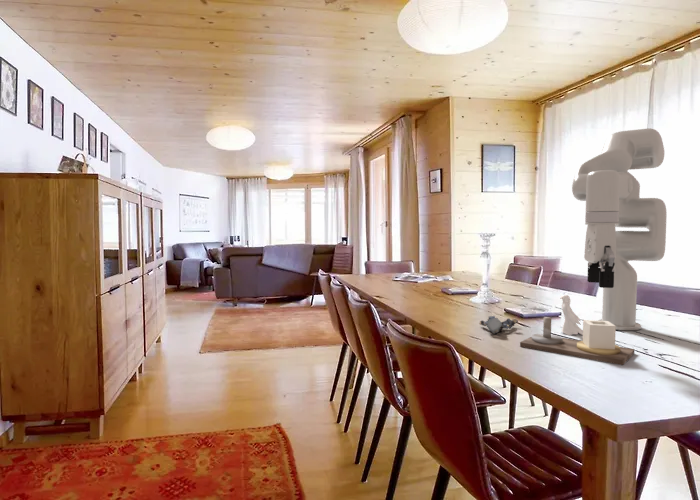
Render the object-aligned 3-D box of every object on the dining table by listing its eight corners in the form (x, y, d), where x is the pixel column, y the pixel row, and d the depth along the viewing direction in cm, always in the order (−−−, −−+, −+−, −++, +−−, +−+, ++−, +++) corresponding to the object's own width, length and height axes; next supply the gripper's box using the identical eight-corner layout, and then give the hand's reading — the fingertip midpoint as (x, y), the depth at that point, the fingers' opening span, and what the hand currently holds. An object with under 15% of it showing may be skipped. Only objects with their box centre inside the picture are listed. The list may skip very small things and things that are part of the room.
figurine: (559, 329, 145) (560, 292, 144) (587, 332, 142) (588, 294, 141) (559, 335, 138) (560, 296, 138) (588, 337, 135) (589, 298, 134)
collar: (582, 341, 122) (583, 320, 121) (607, 343, 120) (607, 321, 120) (589, 347, 116) (589, 324, 116) (614, 349, 115) (615, 326, 114)
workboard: (537, 337, 135) (537, 312, 135) (634, 353, 118) (635, 324, 118) (520, 346, 126) (520, 319, 125) (622, 365, 109) (623, 333, 108)
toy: (521, 322, 148) (515, 325, 135) (492, 339, 152) (483, 343, 138) (509, 304, 150) (502, 305, 137) (480, 321, 154) (471, 323, 141)
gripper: (576, 219, 126) (575, 280, 127) (596, 219, 109) (594, 289, 110) (606, 219, 124) (604, 280, 125) (631, 218, 107) (628, 290, 108)
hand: (599, 284), depth 117 cm, fingers open, 9 cm apart
